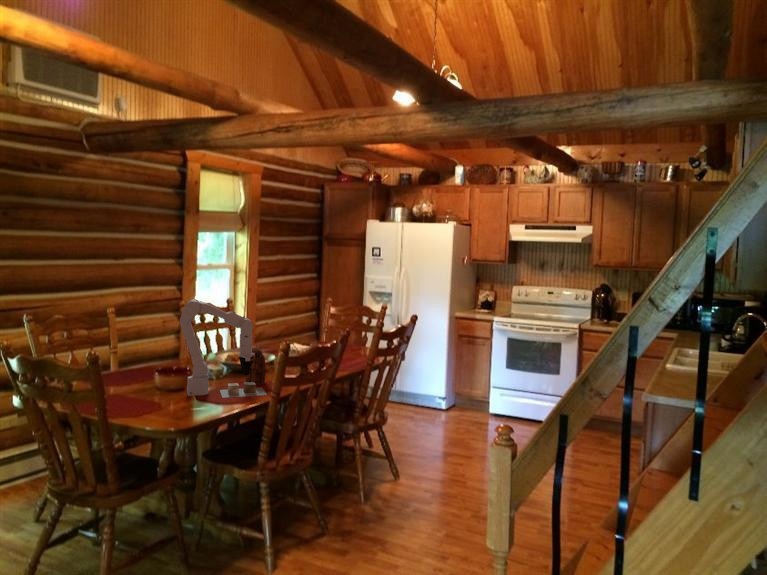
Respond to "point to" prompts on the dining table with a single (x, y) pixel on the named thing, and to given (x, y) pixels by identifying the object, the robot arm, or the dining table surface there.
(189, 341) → the robot arm
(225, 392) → the mat
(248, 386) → the walnut base block
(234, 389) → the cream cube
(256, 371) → the wooden figurine
